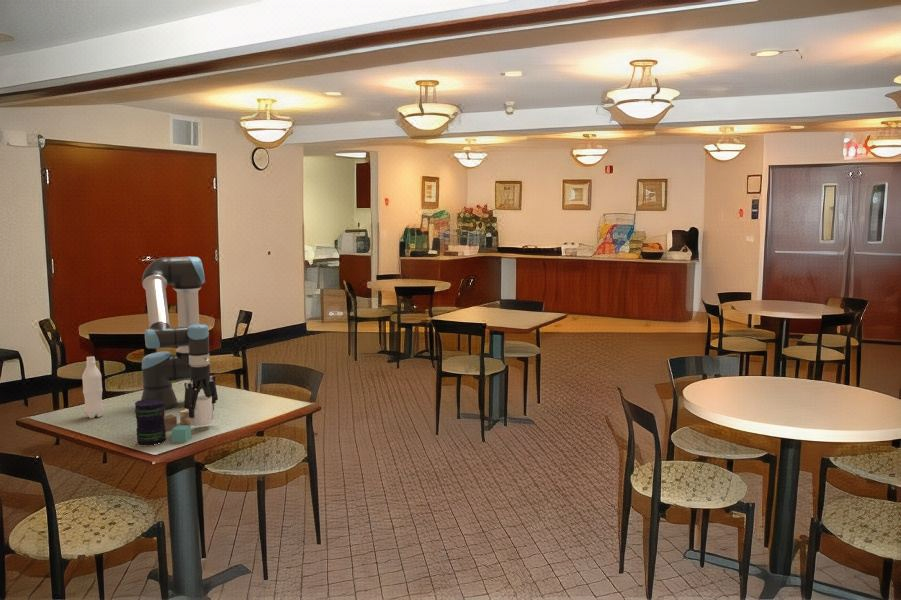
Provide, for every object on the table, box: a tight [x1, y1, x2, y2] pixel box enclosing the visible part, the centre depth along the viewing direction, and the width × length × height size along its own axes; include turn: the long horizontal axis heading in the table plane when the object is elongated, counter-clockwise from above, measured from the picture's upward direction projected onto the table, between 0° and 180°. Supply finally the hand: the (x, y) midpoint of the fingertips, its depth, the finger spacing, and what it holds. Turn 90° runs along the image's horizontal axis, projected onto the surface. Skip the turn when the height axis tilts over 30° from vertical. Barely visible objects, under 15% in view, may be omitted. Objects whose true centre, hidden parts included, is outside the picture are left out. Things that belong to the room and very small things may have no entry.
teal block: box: [171, 424, 192, 443], centre depth 258 cm, size 5×5×5 cm
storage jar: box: [134, 398, 167, 446], centre depth 256 cm, size 10×10×15 cm
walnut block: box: [164, 414, 178, 432], centre depth 272 cm, size 5×5×5 cm
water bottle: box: [81, 355, 105, 419], centre depth 288 cm, size 7×7×25 cm
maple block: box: [179, 408, 192, 426], centre depth 281 cm, size 5×5×5 cm
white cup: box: [191, 395, 212, 427], centre depth 272 cm, size 8×8×10 cm
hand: (202, 422), depth 273 cm, fingers closed on white cup, 8 cm apart
